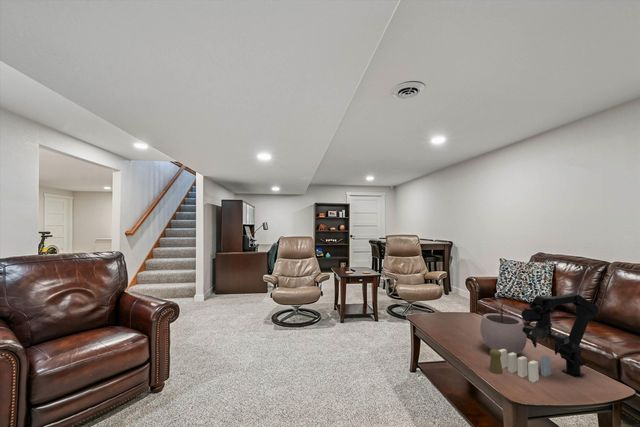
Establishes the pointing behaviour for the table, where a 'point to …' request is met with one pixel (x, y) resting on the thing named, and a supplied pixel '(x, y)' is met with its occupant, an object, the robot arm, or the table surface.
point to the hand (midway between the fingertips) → (545, 350)
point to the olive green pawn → (495, 361)
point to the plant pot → (503, 332)
